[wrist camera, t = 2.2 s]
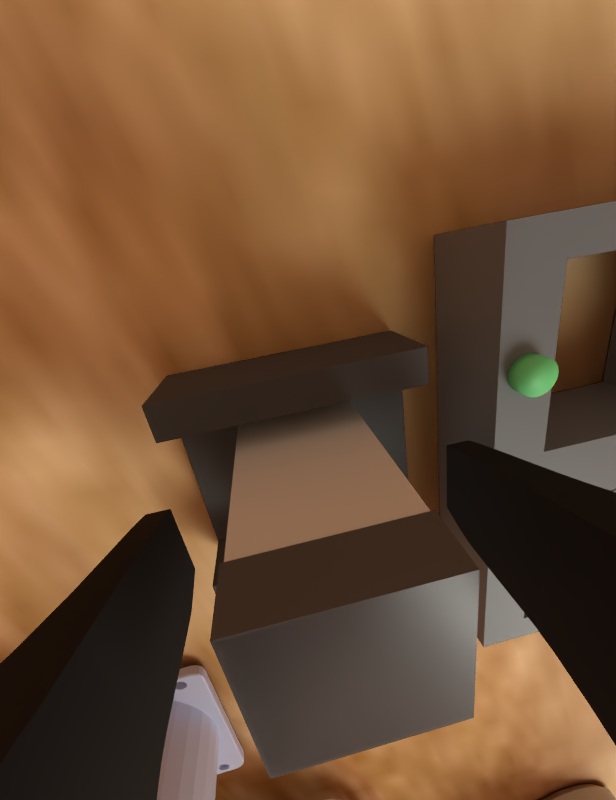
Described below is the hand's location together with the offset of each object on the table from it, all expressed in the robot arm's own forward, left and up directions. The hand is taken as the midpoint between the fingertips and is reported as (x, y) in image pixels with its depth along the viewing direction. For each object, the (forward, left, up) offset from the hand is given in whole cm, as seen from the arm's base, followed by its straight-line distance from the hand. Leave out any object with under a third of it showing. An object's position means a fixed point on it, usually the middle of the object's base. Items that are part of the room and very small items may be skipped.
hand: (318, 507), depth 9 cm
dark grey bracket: (0, 0, -3) cm, 3 cm away
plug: (0, 0, -3) cm, 3 cm away
